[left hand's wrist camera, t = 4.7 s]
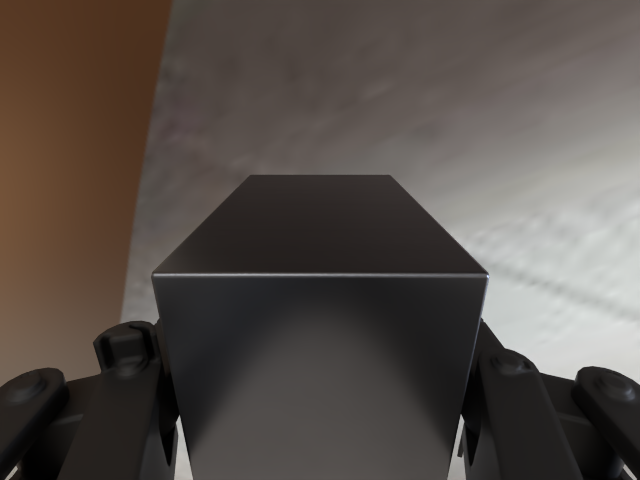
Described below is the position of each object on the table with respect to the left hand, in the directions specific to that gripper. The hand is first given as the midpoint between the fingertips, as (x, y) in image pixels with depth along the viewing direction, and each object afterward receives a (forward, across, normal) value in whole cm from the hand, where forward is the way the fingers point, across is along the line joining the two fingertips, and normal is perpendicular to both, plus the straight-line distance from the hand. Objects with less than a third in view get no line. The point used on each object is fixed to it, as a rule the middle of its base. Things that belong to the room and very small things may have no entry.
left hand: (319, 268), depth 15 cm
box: (+1, 0, -10) cm, 10 cm away
